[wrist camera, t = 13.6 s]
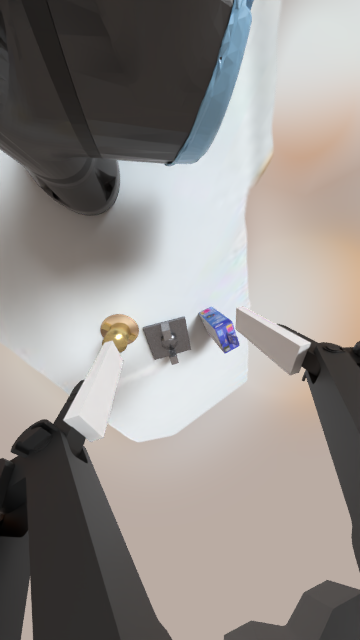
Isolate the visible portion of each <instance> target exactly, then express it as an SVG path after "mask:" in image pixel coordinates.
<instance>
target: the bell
mask: <svg viewBox="0 0 360 640" xmlns="http://www.w3.org/2000/svg"><path fill="white" fill-rule="evenodd" d="M101 329H104V330H106V331H108V332H107V334H106V336H105V338H104V340H103V342H102V346H103V345H104V343H105V342H109V341H113V342H114V344H115V346H116V348H117V350H118V351H119V353H120V352H123V351H124V350H125V349H126V347H127V343H128V340H132V341H134V340H135V338H136V336H137V335H135V334H133V333H130V328H129V326H128V325H126V324H124V323H115V324H113V325H112V326H111V324H109V323H106V322H104V324H103V326H102V328H101Z"/></svg>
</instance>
